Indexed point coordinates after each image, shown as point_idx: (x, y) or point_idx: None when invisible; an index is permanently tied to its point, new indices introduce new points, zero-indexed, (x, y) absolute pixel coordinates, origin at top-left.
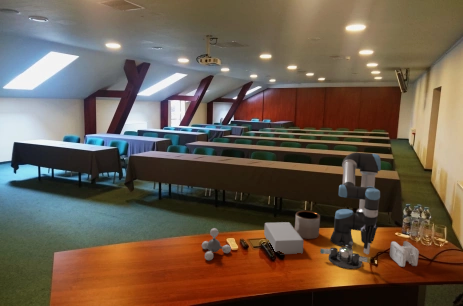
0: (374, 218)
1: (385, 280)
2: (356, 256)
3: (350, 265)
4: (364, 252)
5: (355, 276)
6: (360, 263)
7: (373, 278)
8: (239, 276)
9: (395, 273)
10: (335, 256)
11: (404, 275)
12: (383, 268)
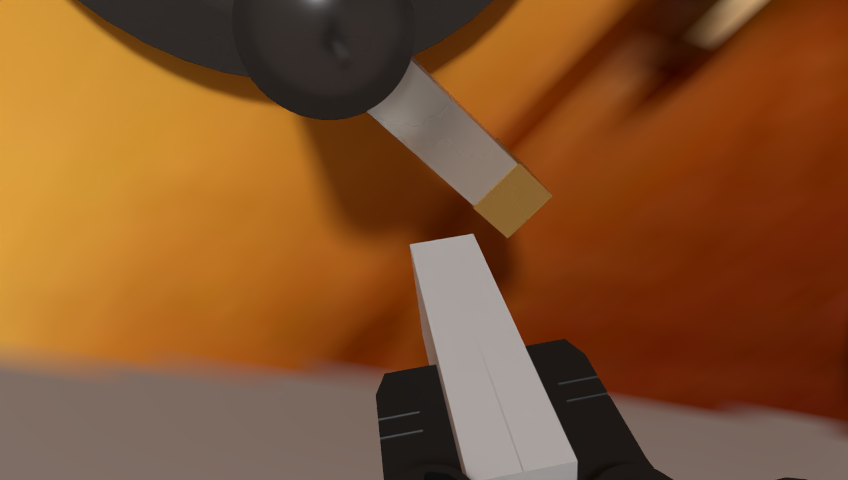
0: None
1: None
2: (292, 101)
3: (222, 7)
4: (415, 275)
5: (155, 242)
6: (451, 4)
7: (365, 323)
8: None
9: (693, 294)
10: None
11: (735, 341)
12: (678, 174)
